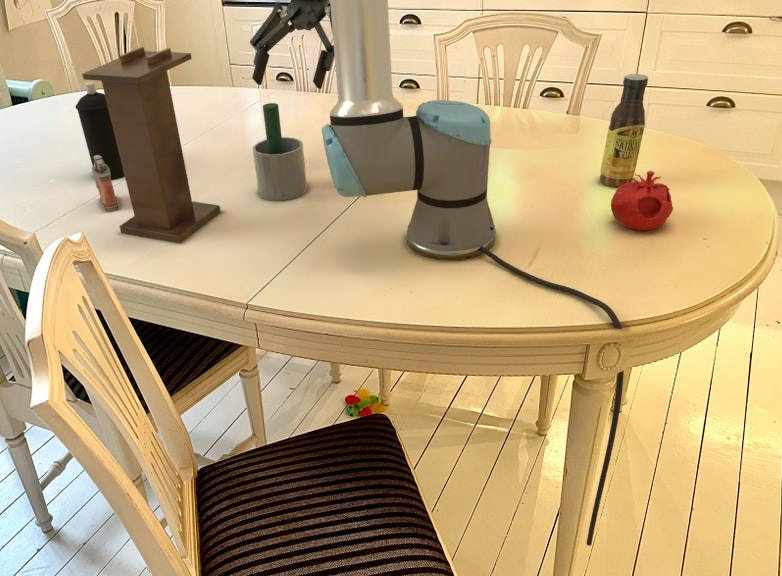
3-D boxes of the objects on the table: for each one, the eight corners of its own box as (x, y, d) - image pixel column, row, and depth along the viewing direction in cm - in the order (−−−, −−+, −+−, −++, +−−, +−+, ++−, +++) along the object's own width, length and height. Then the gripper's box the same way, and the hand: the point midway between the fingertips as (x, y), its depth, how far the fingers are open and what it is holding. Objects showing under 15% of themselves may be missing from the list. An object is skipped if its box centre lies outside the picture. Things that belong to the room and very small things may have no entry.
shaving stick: (265, 100, 145) (251, 108, 141) (289, 101, 143) (275, 110, 139) (274, 182, 155) (262, 192, 151) (297, 184, 153) (285, 195, 149)
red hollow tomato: (596, 221, 131) (603, 170, 126) (636, 205, 135) (645, 156, 129) (641, 241, 124) (651, 189, 119) (682, 224, 128) (694, 173, 122)
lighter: (98, 198, 157) (86, 153, 151) (114, 195, 158) (103, 149, 152) (104, 212, 151) (91, 165, 145) (121, 209, 152) (109, 162, 146)
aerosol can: (121, 180, 165) (98, 88, 153) (87, 180, 166) (62, 89, 155) (136, 166, 171) (115, 77, 159) (103, 166, 173) (80, 78, 161)
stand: (165, 202, 153) (131, 43, 135) (222, 211, 147) (194, 45, 129) (119, 234, 142) (75, 65, 124) (178, 244, 137) (141, 69, 118)
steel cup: (315, 192, 151) (311, 147, 146) (270, 204, 148) (265, 159, 142) (293, 177, 159) (289, 133, 153) (251, 188, 155) (245, 144, 150)
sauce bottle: (608, 190, 141) (625, 83, 130) (593, 178, 146) (608, 74, 135) (640, 185, 142) (660, 79, 130) (624, 173, 147) (642, 70, 135)
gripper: (377, -4, 146) (350, 96, 144) (267, -5, 156) (241, 89, 154) (365, -29, 139) (336, 76, 137) (251, -28, 149) (223, 70, 147)
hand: (286, 83), depth 146 cm, fingers open, 13 cm apart
